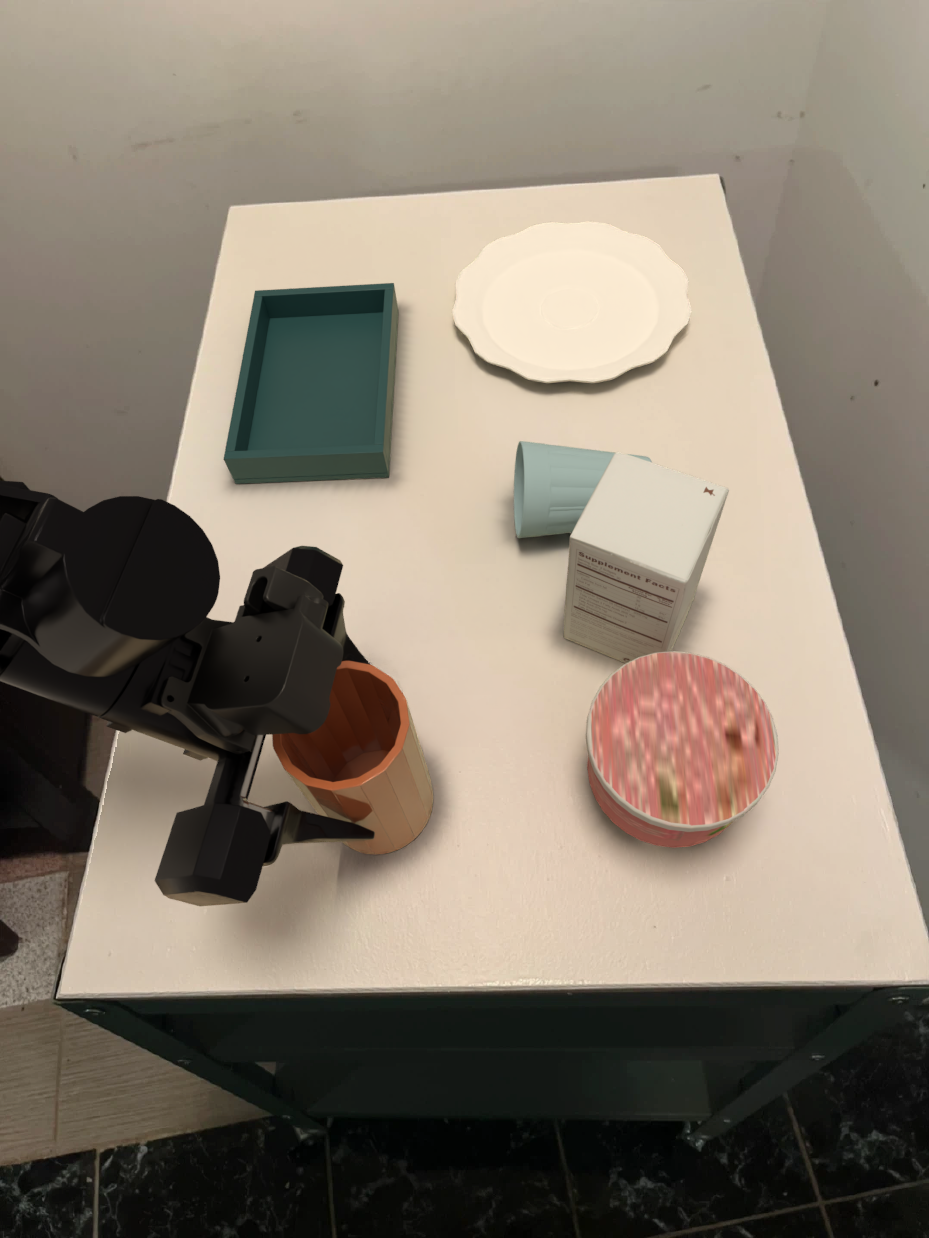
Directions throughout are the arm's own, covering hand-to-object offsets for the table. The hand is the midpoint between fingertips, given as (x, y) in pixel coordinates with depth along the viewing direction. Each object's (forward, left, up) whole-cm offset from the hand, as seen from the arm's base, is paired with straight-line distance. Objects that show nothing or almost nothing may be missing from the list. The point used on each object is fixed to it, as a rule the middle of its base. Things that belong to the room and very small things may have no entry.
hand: (384, 768), depth 47 cm
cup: (+21, +23, -4) cm, 31 cm away
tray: (-2, +37, -7) cm, 38 cm away
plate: (+21, +42, -7) cm, 48 cm away
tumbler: (-1, 0, -7) cm, 7 cm away
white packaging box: (+18, +10, -7) cm, 22 cm away
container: (+17, -2, -7) cm, 18 cm away
